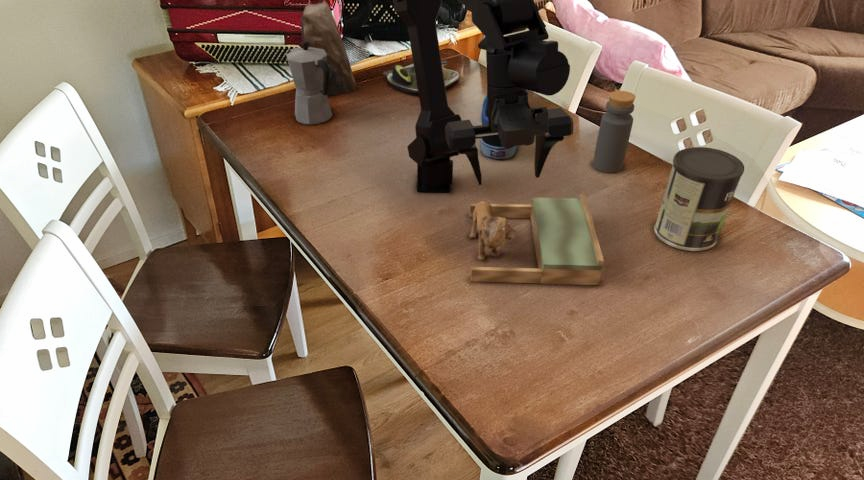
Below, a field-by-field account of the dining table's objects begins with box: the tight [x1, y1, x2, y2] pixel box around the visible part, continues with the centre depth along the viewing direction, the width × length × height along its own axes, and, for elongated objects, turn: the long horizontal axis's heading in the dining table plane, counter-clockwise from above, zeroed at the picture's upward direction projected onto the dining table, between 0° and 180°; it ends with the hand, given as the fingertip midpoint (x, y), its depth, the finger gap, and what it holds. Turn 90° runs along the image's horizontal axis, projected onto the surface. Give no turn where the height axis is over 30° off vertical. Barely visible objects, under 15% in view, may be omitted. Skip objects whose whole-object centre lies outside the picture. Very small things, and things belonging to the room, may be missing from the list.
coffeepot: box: [285, 40, 333, 126], centre depth 142 cm, size 15×9×18 cm, turn 37°
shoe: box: [480, 93, 519, 160], centre depth 136 cm, size 11×30×12 cm, turn 169°
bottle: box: [592, 90, 636, 174], centre depth 121 cm, size 6×6×15 cm
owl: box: [299, 0, 357, 97], centre depth 156 cm, size 13×13×20 cm
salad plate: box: [382, 60, 460, 97], centre depth 161 cm, size 19×18×5 cm
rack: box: [469, 193, 605, 286], centre depth 104 cm, size 20×19×5 cm
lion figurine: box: [469, 200, 518, 261], centre depth 104 cm, size 15×5×9 cm, turn 13°
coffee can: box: [653, 146, 745, 252], centre depth 103 cm, size 10×10×14 cm
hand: (508, 180), depth 99 cm, fingers open, 9 cm apart
